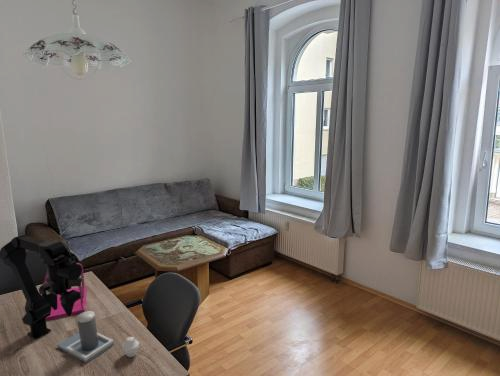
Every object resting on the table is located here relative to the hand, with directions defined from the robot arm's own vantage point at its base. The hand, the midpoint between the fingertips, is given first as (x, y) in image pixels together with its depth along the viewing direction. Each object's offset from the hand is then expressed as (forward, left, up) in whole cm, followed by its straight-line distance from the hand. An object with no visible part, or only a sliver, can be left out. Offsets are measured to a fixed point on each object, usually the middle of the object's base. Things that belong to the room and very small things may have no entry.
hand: (62, 312), depth 136 cm
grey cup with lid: (+11, +3, -12) cm, 17 cm away
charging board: (+8, +2, -13) cm, 16 cm away
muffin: (+28, +8, -13) cm, 32 cm away
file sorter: (-29, +17, -13) cm, 36 cm away
